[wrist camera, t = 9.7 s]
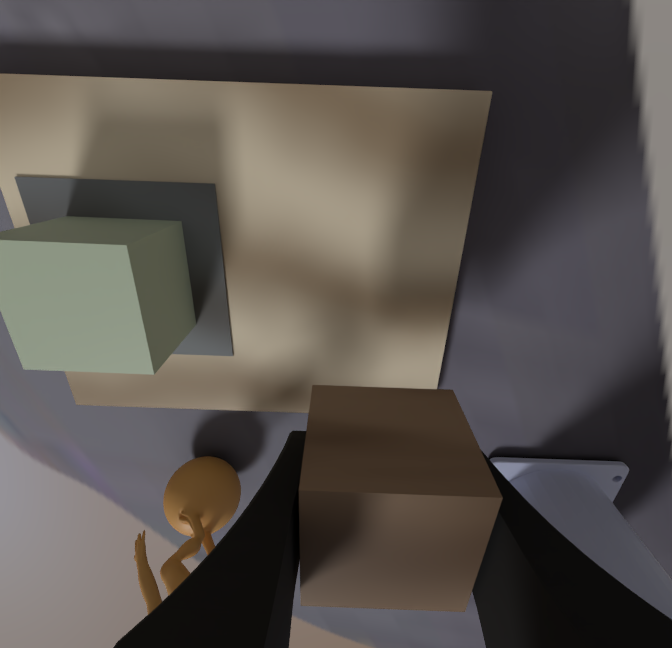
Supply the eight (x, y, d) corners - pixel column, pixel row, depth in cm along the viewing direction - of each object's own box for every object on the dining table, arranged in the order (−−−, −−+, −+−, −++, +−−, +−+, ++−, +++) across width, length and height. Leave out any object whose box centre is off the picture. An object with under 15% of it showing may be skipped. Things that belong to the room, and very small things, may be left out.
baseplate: (426, 402, 19) (431, 418, 18) (91, 390, 19) (75, 405, 18) (480, 95, 13) (493, 90, 12) (-9, 78, 13) (-43, 71, 12)
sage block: (196, 324, 16) (154, 374, 12) (95, 320, 16) (23, 369, 12) (181, 220, 14) (126, 245, 11) (66, 216, 14) (-28, 238, 10)
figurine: (152, 420, 20) (-67, 731, 9) (252, 398, 19) (140, 709, 9) (212, 516, 24) (103, 825, 13) (299, 501, 23) (262, 815, 12)
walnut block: (432, 488, 13) (464, 611, 10) (311, 484, 13) (300, 605, 10) (452, 389, 12) (502, 497, 8) (312, 384, 12) (298, 490, 8)
